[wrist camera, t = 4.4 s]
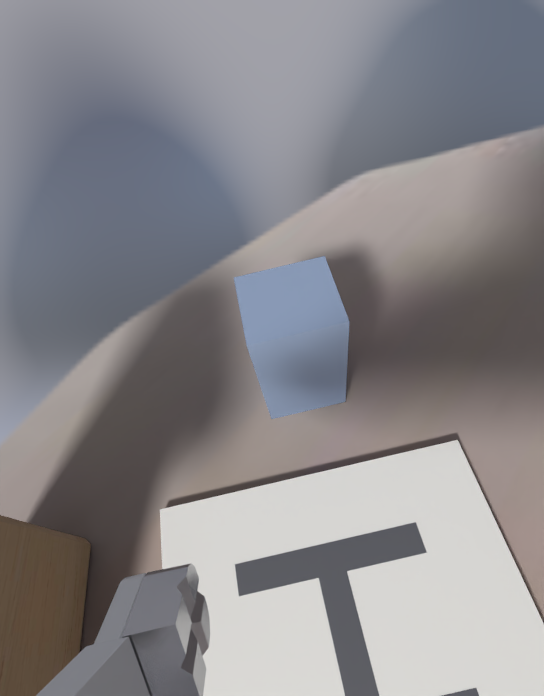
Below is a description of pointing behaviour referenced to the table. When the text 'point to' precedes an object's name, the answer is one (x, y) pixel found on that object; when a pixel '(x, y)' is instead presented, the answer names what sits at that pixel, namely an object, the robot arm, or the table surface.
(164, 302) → the table surface
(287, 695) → the letter board
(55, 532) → the decorative block
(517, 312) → the table surface
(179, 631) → the robot arm
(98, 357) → the table surface
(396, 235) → the table surface
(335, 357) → the slate-blue block
